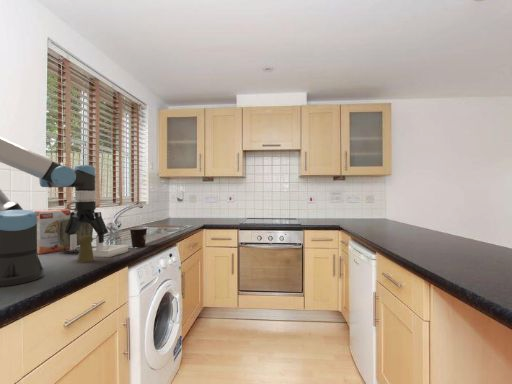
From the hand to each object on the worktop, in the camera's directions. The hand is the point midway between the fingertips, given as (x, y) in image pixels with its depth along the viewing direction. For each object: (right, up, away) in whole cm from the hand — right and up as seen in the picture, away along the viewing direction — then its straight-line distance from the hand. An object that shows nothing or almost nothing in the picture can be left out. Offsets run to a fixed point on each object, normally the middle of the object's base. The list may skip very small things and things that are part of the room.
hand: (86, 249), depth 121 cm
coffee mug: (+9, -5, +30) cm, 31 cm away
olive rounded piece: (0, -5, 0) cm, 5 cm away
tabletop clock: (-16, -5, +18) cm, 25 cm away
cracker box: (-29, -5, +20) cm, 36 cm away
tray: (+2, -5, +14) cm, 15 cm away
